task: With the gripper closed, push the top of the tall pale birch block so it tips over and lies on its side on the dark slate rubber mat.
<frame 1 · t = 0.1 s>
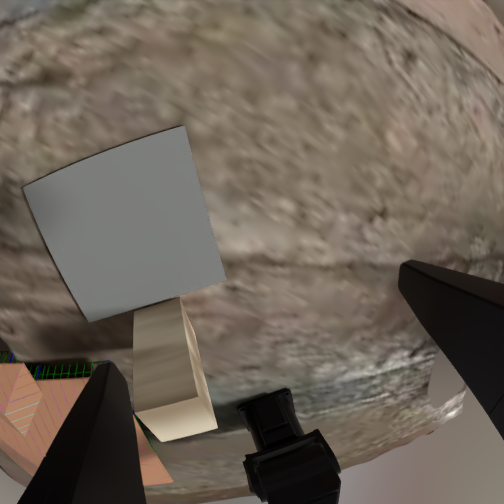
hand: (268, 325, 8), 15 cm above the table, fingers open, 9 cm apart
house: (67, 429, 29), on the table
slate mat: (125, 233, 21), on the table
birch block: (165, 322, 25), on the table
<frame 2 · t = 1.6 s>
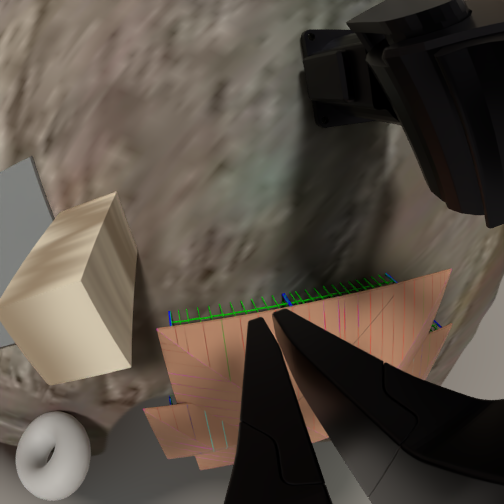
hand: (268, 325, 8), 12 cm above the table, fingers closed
house: (313, 366, 30), on the table
slate mat: (0, 269, 16), on the table
birch block: (98, 231, 18), on the table
donut: (55, 412, 24), on the table
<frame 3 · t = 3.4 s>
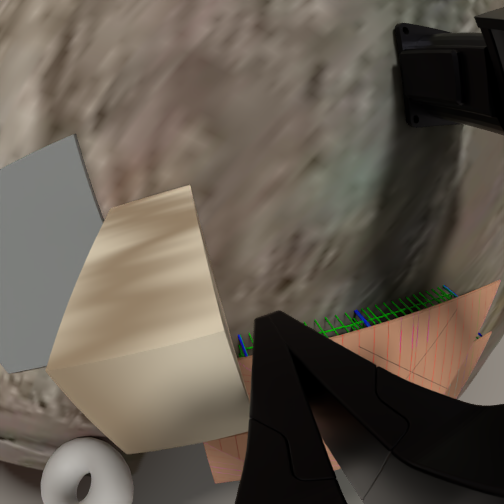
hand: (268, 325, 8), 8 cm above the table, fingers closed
house: (365, 380, 28), on the table
slate mat: (23, 279, 14), on the table
birch block: (161, 233, 15), on the table, touching gripper
donut: (83, 437, 21), on the table
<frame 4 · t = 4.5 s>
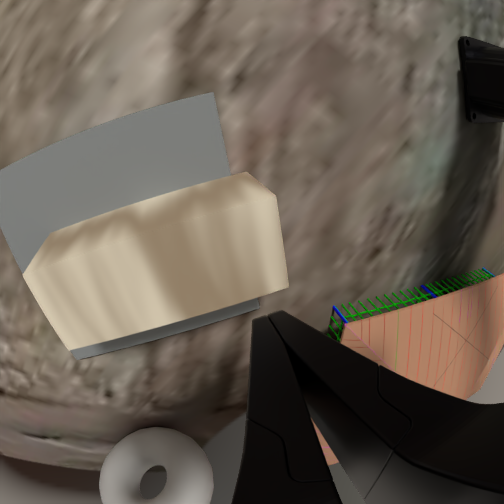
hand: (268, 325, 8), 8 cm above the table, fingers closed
house: (414, 357, 29), on the table
slate mat: (122, 246, 15), on the table
birch block: (266, 225, 14), point 2 cm above the table, tilted 90°, touching slate mat
donut: (146, 428, 22), on the table
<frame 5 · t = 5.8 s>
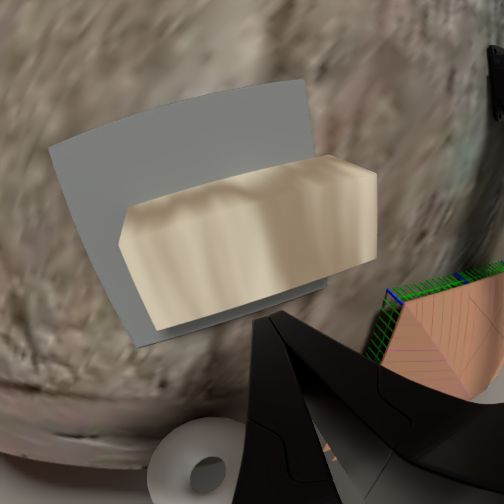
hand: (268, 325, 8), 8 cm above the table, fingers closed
house: (440, 344, 30), on the table
slate mat: (204, 223, 15), on the table
birch block: (352, 203, 14), point 2 cm above the table, tilted 90°, touching slate mat
donut: (194, 420, 22), on the table
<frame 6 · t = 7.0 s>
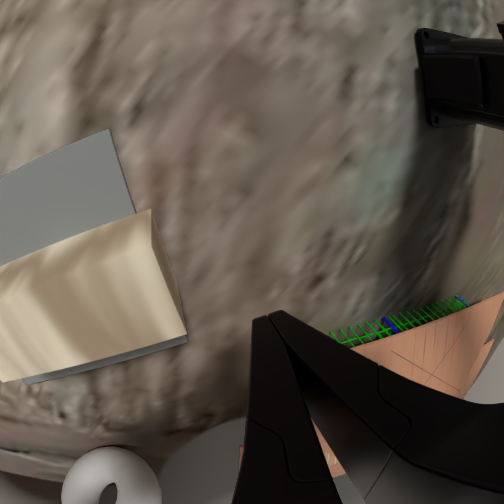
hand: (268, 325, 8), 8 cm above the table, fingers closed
house: (380, 384, 29), on the table
slate mat: (47, 284, 13), on the table
birch block: (166, 267, 13), point 2 cm above the table, tilted 90°, touching slate mat
donut: (104, 447, 21), on the table
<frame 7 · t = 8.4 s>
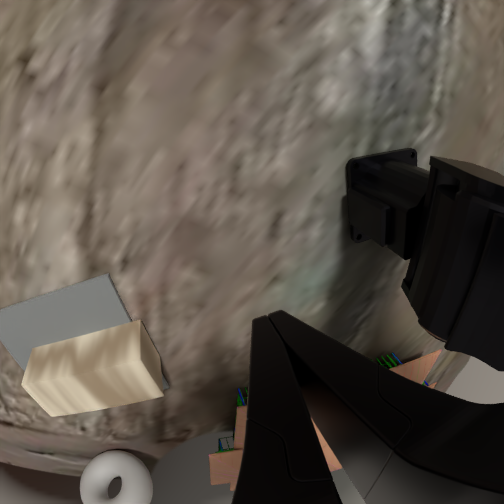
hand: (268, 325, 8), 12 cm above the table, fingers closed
house: (327, 414, 36), on the table
slate mat: (76, 355, 21), on the table
birch block: (151, 357, 20), point 2 cm above the table, tilted 90°, touching slate mat
donut: (112, 450, 28), on the table
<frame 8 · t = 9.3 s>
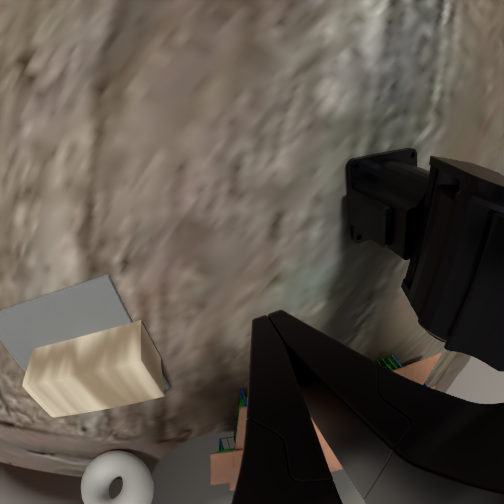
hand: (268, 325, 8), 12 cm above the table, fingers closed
house: (327, 415, 37), on the table
slate mat: (77, 355, 21), on the table
birch block: (151, 358, 20), point 2 cm above the table, tilted 90°, touching slate mat
donut: (113, 450, 28), on the table
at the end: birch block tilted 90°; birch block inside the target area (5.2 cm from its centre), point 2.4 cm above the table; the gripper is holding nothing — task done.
